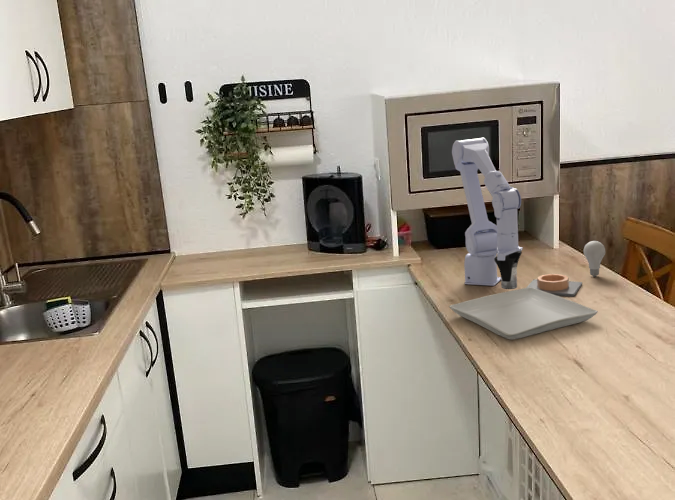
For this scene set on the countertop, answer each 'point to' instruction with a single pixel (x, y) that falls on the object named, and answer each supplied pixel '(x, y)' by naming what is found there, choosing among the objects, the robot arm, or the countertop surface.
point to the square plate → (522, 312)
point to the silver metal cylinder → (513, 281)
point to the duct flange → (556, 285)
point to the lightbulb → (594, 256)
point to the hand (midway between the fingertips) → (508, 278)
